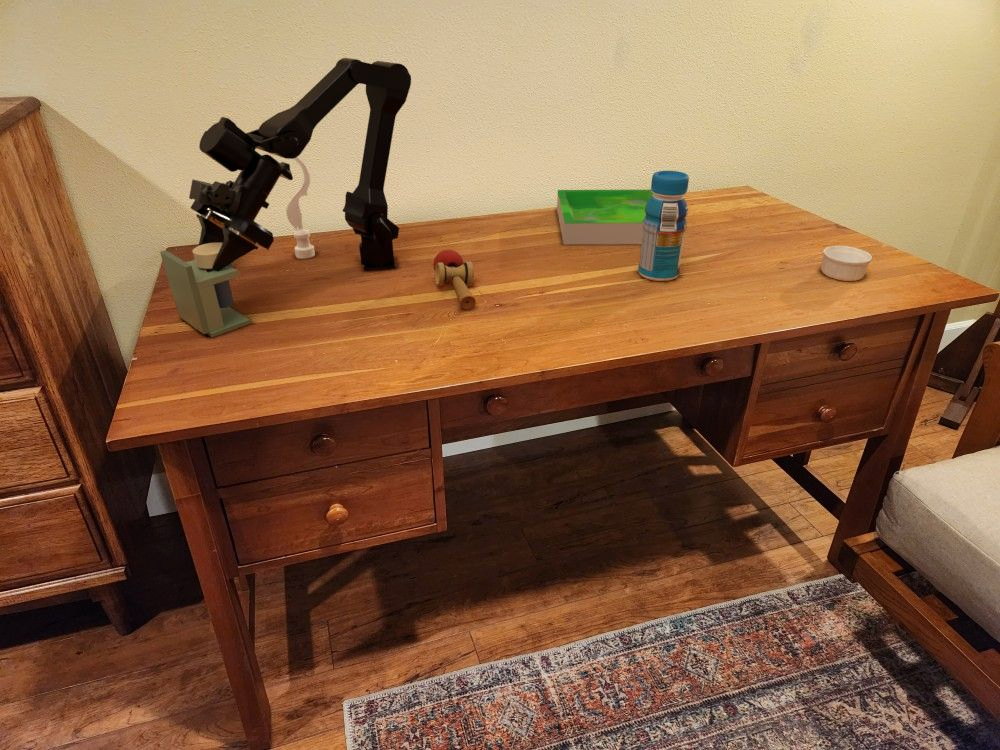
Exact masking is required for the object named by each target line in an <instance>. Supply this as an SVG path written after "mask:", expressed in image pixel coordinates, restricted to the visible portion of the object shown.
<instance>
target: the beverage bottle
mask: <svg viewBox="0 0 1000 750" xmlns="http://www.w3.org/2000/svg"><path fill="white" fill-rule="evenodd" d="M689 181H690V176H689V175H688V173H685V172H683V171H678V170H658V171H656V172H653V174H652V177H651V184H650V185H651V186H650V190H651V192H652V193H654V194H653V195H652V196H651V198H650V199H649V201H648V202H647V204H646V206H645V213H646V216H645V217H644V219H643V224H642V226H643V234H642V244H640V254H639V263H638V269H637V270H638V274H639V275H640V276H641V277H643V278H645V279H646V280H650V281H655V282H668V281H673V280H674V279H678V277H679V276H680V273H681V262H682V261H681V260H682V253H683V247H684V241H685V234H686V231H687V228H688V220H687V216H688V215H689V205H688V202H687V201H686V197H685V196H686V195H687V192H688V190H689V189H688V188H689Z"/></svg>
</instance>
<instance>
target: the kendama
mask: <svg viewBox="0 0 1000 750" xmlns="http://www.w3.org/2000/svg"><path fill="white" fill-rule="evenodd" d="M432 263H433V264H432V266H433V269H434V281H435V284H436V285H437V286H440V287H441V286H444V285H445V284H446V283H447V282H452V284H453V288H454V292H455V294H456V297H457V300H458V303H459V306H460V308H461V309H463V310H466V311H469V310H471V309H473V308H474V307H475V305H476V298H475V296H474V295H473V293H471V291H470V289H469V287H472V286H473V284H474V281H475V269H474V264H473V262H472V261H464V259H463V256H462V255H461V254H460V253H459V252H457V251H456V250H452V249H444V250H441V251H440V252H438V253H437V254H436V255H435V257H434V259H433V262H432Z"/></svg>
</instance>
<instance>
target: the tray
mask: <svg viewBox="0 0 1000 750" xmlns="http://www.w3.org/2000/svg"><path fill="white" fill-rule="evenodd" d="M653 194H654V193H652V192H651V189H557V197H556V200H557V201H556V211H557V217H558V223H559V227H560V232H561V238H562V244H563V245H641V244H642V234H643V226H642V224H643V219H644V217H645V216H646V213H645V206H646V204H647V202H648V201H649V199H650V198H651V196H652V195H653Z"/></svg>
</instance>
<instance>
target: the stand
mask: <svg viewBox="0 0 1000 750" xmlns="http://www.w3.org/2000/svg"><path fill="white" fill-rule="evenodd" d="M159 254H160V257H161V260H162V264H163V267H164V271H165V274H166V277H167V281H168V284H169V285H168V286H169V288H170V292H171V295H172V298H173V302H174V305H175V309H176V312H177V315H178V317H179V318H180V319H181V320H183V321H184V322H186V323H187V324H188V325H190V326H192V327H193V328H194V329H195V330H197V331H198V332H200V333H201V334H202V335H207V336H209V337H210V338H215V337H218V336H220V335H224V334H226V333H229V332H232V331H235V330H237V329H240V328H243V327H246V326H248V325H251V324H252V322H251V319H250V318H248V317H247V316H245V315H243V314H242V313H240V312H239V311H237V310H236V309H234V308H233V307H232V306H230V307H227V308H219V304H218V300H217V296H216V292H215V288H214V284H217V283H220V282H223V281H227V280H229V281H230V280H234V279H236V278H239V277H240V275H239V271H238V269H236V268H234V267H233V266H228V267H227V266H226V267H225V268H223V269H221V270H220V271H218V272H217V271H211V272H206V269H204V268H199V267H197V266H196V263H195V259H192V260H190V261H185V260H183V259H181V258H179V257H178V256H176V255H175V254H172V253H171V252H169V251H168V250H161V251H159Z"/></svg>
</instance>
